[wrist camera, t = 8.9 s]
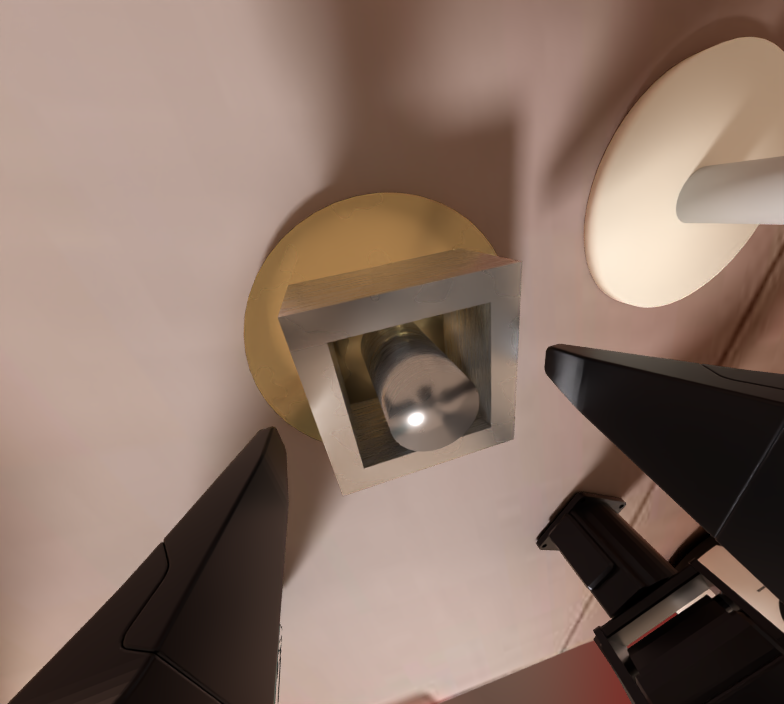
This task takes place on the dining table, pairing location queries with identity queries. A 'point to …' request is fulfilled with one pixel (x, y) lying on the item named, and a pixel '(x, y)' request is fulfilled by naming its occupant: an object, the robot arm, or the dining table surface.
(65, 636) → the dining table surface
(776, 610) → the milk container
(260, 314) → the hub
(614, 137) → the stand
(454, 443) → the collar
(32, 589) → the dining table surface
